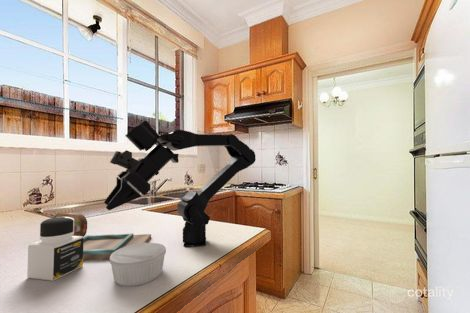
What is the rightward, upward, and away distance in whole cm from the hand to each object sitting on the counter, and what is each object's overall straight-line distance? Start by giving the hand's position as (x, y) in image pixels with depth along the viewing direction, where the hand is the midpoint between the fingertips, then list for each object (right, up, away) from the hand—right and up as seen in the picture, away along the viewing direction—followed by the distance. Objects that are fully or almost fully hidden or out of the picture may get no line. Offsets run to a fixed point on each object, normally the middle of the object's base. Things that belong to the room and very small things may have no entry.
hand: (106, 206), depth 56 cm
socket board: (-4, -14, +9) cm, 17 cm away
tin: (-23, -15, +17) cm, 32 cm away
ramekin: (+12, -14, -8) cm, 19 cm away
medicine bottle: (-8, -14, -6) cm, 17 cm away
